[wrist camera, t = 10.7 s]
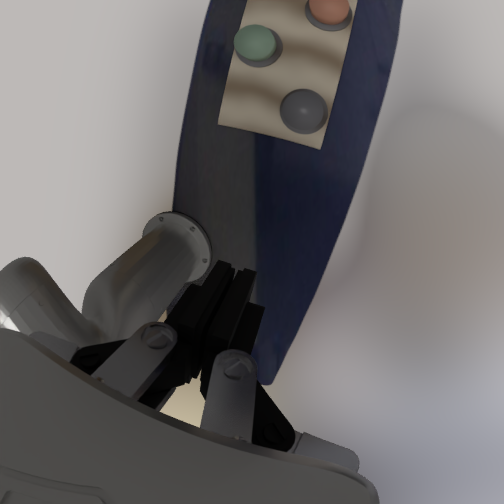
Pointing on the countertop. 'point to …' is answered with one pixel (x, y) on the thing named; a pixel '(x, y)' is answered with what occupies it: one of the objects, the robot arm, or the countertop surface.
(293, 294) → the countertop surface
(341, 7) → the terracotta button
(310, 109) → the charcoal button
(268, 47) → the green button
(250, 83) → the button panel
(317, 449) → the robot arm
